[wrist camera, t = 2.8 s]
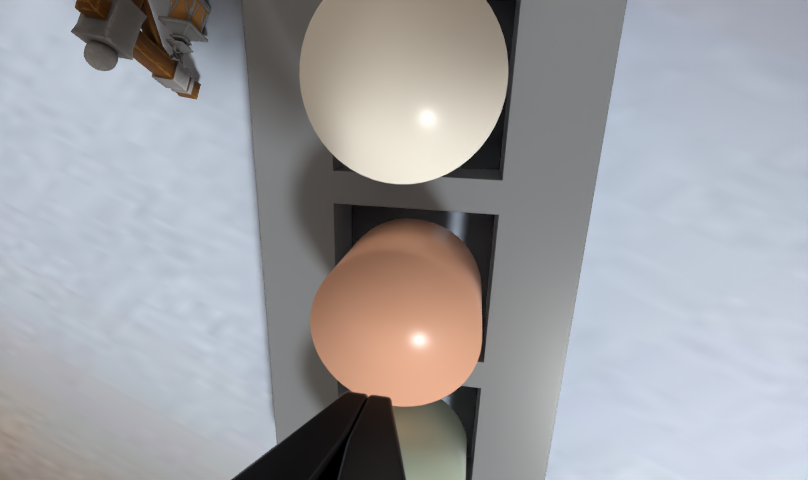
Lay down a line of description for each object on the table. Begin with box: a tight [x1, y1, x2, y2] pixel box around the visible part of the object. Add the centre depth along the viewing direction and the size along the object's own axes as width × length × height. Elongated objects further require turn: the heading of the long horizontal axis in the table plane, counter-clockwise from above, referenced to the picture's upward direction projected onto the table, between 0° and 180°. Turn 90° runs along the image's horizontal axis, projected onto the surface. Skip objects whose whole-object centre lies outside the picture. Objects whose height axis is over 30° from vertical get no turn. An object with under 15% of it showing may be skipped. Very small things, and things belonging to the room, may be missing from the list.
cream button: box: [299, 0, 508, 184], centre depth 10 cm, size 4×4×3 cm
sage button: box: [393, 399, 467, 480], centre depth 14 cm, size 4×4×3 cm
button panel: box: [242, 0, 627, 480], centre depth 15 cm, size 10×19×2 cm, turn 178°
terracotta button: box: [310, 218, 482, 407], centre depth 12 cm, size 4×4×3 cm
